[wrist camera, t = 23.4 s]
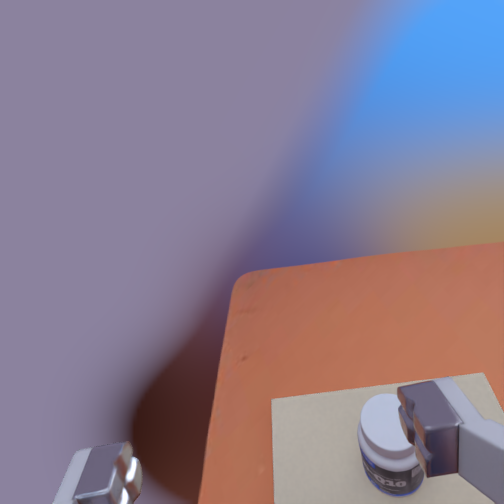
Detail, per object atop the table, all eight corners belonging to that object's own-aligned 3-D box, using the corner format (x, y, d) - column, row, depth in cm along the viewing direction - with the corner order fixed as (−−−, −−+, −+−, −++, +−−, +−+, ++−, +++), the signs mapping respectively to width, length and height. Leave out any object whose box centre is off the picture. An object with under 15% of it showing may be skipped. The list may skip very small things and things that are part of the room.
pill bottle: (353, 474, 31) (341, 430, 26) (378, 426, 34) (372, 376, 28) (410, 513, 28) (410, 472, 23) (434, 457, 31) (439, 408, 25)
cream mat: (277, 581, 28) (276, 580, 28) (272, 400, 38) (271, 398, 38) (581, 570, 24) (583, 569, 24) (483, 374, 35) (483, 372, 35)
